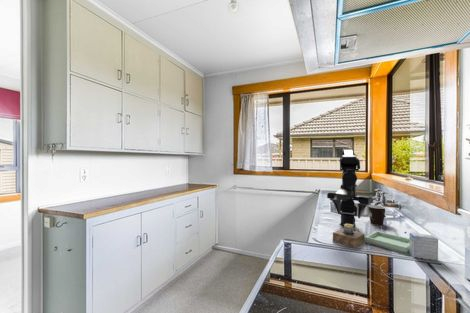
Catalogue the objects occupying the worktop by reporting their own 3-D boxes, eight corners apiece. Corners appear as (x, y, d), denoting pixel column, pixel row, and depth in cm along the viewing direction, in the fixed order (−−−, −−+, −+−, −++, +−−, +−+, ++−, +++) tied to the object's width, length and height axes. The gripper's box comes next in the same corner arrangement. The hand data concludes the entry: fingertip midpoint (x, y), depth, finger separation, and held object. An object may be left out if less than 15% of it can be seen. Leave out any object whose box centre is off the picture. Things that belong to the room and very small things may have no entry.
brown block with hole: (332, 240, 107) (332, 232, 107) (342, 236, 113) (343, 228, 113) (354, 247, 99) (354, 238, 99) (364, 242, 105) (364, 233, 105)
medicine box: (432, 256, 91) (432, 234, 91) (438, 261, 86) (438, 238, 86) (409, 253, 93) (409, 232, 93) (413, 258, 89) (413, 236, 89)
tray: (364, 242, 105) (364, 236, 105) (376, 235, 114) (376, 230, 114) (406, 254, 93) (406, 247, 92) (415, 245, 101) (415, 240, 101)
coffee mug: (368, 220, 140) (368, 204, 140) (384, 223, 135) (384, 206, 135) (368, 225, 129) (368, 208, 129) (386, 228, 125) (386, 210, 125)
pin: (343, 241, 106) (343, 224, 106) (346, 239, 108) (346, 223, 108) (350, 243, 104) (350, 225, 104) (353, 241, 106) (353, 224, 105)
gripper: (321, 182, 108) (321, 214, 108) (362, 186, 93) (362, 224, 93) (333, 180, 115) (332, 211, 115) (373, 184, 100) (373, 219, 100)
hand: (348, 215), depth 106 cm, fingers open, 9 cm apart
